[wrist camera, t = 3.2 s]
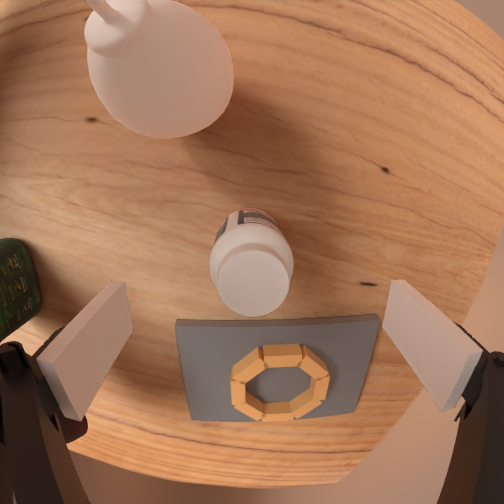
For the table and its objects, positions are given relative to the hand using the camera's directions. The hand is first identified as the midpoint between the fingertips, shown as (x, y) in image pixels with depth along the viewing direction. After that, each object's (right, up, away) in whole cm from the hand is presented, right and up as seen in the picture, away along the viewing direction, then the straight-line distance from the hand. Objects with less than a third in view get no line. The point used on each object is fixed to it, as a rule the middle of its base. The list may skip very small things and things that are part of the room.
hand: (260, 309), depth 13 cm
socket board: (+2, -10, +16) cm, 19 cm away
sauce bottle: (-6, +15, +8) cm, 18 cm away
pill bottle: (-1, +4, +12) cm, 12 cm away
